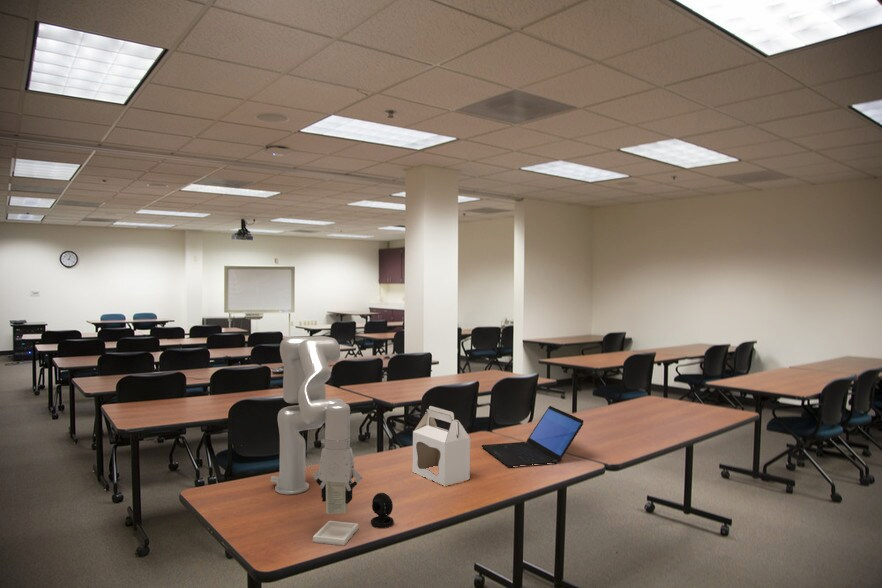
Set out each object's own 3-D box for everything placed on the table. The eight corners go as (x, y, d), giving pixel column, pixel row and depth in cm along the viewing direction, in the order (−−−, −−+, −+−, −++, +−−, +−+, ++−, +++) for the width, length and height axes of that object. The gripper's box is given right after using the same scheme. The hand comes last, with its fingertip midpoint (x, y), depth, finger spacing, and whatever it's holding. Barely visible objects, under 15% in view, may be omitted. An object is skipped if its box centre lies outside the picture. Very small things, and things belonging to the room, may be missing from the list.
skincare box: (347, 508, 174) (348, 469, 174) (345, 514, 170) (346, 474, 170) (327, 508, 174) (327, 469, 174) (324, 514, 170) (325, 474, 170)
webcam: (365, 524, 181) (366, 493, 181) (380, 517, 187) (380, 487, 187) (384, 530, 176) (384, 499, 176) (398, 522, 183) (399, 492, 183)
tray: (312, 542, 167) (313, 536, 167) (328, 526, 179) (329, 520, 179) (344, 546, 165) (344, 540, 165) (358, 529, 177) (358, 523, 177)
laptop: (480, 448, 272) (481, 409, 272) (549, 443, 283) (550, 405, 283) (508, 469, 240) (508, 424, 240) (584, 463, 251) (585, 420, 251)
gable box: (411, 472, 233) (412, 406, 233) (436, 466, 242) (437, 402, 242) (444, 487, 216) (445, 415, 216) (470, 480, 224) (471, 411, 224)
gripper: (306, 445, 170) (305, 503, 170) (359, 448, 167) (359, 508, 167) (316, 438, 178) (315, 494, 178) (368, 442, 174) (367, 499, 174)
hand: (336, 500), depth 172 cm, fingers closed on skincare box, 6 cm apart
